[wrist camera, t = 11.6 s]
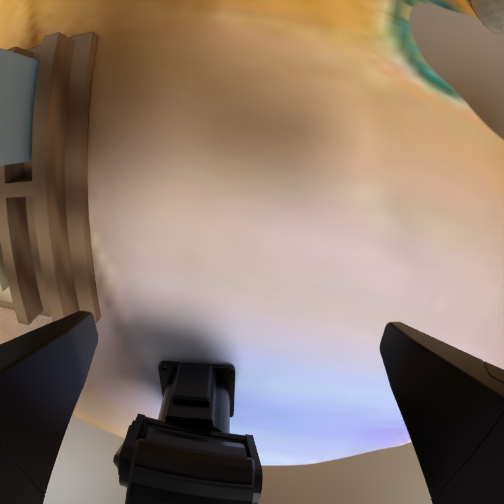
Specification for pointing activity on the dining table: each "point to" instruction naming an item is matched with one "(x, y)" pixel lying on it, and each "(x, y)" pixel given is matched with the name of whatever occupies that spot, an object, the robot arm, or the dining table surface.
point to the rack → (52, 190)
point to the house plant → (490, 14)
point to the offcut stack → (4, 281)
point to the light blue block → (16, 106)
